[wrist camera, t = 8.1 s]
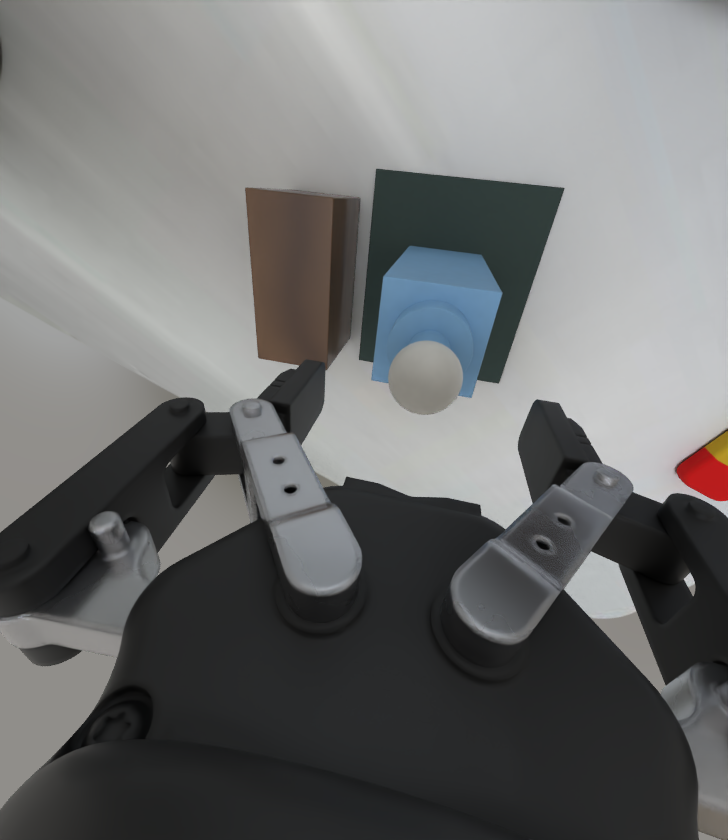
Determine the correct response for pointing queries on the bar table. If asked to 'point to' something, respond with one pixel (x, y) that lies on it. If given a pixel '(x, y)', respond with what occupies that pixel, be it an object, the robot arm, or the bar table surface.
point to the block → (302, 272)
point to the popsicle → (708, 469)
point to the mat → (461, 242)
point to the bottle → (434, 327)
